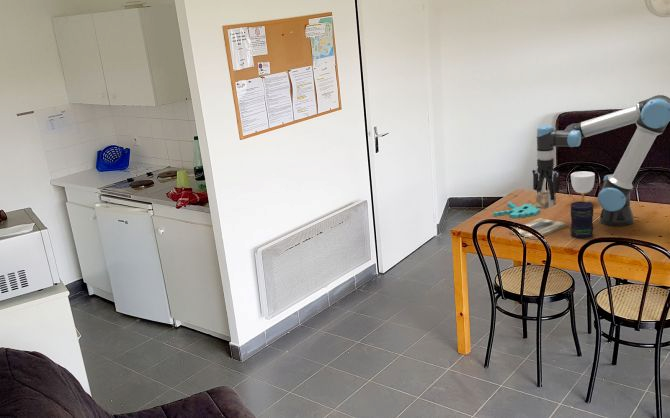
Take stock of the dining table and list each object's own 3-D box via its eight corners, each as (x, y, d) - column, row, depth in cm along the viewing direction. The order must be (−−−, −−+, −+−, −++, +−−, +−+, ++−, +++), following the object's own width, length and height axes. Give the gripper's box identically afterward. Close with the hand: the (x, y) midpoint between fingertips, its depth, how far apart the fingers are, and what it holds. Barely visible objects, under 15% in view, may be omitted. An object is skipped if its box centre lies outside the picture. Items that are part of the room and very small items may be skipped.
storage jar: (592, 239, 299) (592, 207, 295) (569, 238, 303) (569, 207, 299) (593, 232, 308) (593, 201, 304) (571, 231, 312) (571, 201, 308)
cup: (571, 202, 355) (570, 171, 350) (594, 202, 351) (594, 171, 346) (570, 208, 345) (570, 177, 340) (594, 208, 340) (595, 176, 336)
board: (566, 226, 320) (566, 223, 319) (535, 240, 306) (535, 236, 306) (539, 220, 331) (539, 217, 331) (509, 233, 318) (509, 230, 317)
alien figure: (493, 216, 347) (530, 220, 335) (493, 212, 346) (530, 216, 334) (508, 206, 362) (544, 209, 350) (508, 202, 361) (544, 205, 349)
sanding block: (555, 204, 321) (555, 191, 319) (544, 209, 316) (544, 196, 314) (546, 202, 325) (546, 190, 323) (535, 207, 319) (535, 194, 318)
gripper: (566, 158, 308) (566, 206, 315) (534, 154, 322) (534, 200, 329) (557, 162, 304) (557, 210, 311) (524, 158, 318) (525, 204, 325)
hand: (545, 205), depth 320 cm, fingers closed on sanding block, 5 cm apart
